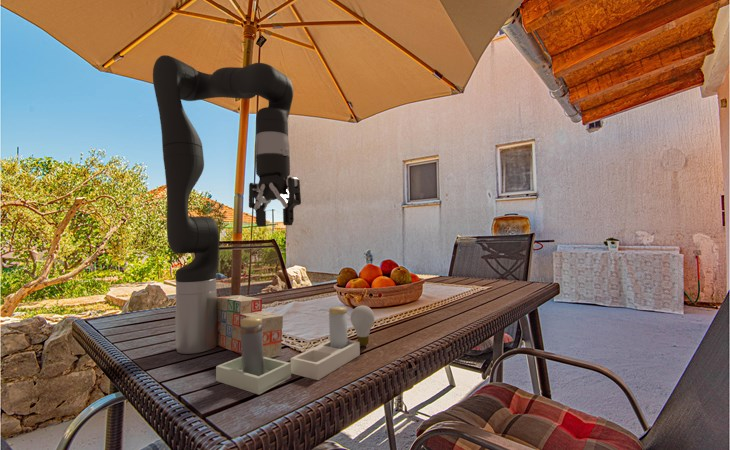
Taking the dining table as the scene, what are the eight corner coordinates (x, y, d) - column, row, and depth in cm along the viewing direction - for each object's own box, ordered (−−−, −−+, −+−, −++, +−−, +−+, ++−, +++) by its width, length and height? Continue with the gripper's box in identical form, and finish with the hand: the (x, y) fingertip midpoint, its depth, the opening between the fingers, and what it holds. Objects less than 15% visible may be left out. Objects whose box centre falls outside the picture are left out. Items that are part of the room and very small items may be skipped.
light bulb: (372, 351, 80) (371, 308, 80) (348, 350, 81) (347, 308, 82) (377, 343, 86) (375, 303, 86) (354, 342, 87) (353, 303, 87)
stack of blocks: (282, 355, 79) (283, 302, 80) (258, 362, 74) (260, 305, 76) (236, 339, 93) (238, 294, 94) (213, 344, 89) (216, 296, 90)
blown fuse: (238, 377, 66) (236, 320, 66) (254, 370, 69) (252, 315, 69) (251, 382, 63) (249, 322, 64) (268, 373, 67) (266, 317, 67)
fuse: (326, 358, 76) (325, 309, 76) (337, 353, 79) (336, 305, 80) (341, 361, 74) (339, 311, 74) (351, 355, 77) (350, 307, 78)
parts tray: (216, 380, 66) (216, 366, 66) (249, 366, 73) (249, 353, 73) (258, 394, 60) (258, 378, 60) (291, 377, 66) (290, 363, 67)
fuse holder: (290, 373, 69) (290, 358, 69) (335, 350, 81) (334, 337, 81) (317, 380, 65) (317, 364, 65) (359, 355, 78) (359, 341, 78)
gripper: (238, 156, 79) (240, 227, 78) (283, 147, 71) (285, 224, 71) (264, 162, 85) (265, 227, 84) (307, 153, 77) (309, 224, 77)
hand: (274, 225), depth 78 cm, fingers open, 8 cm apart
